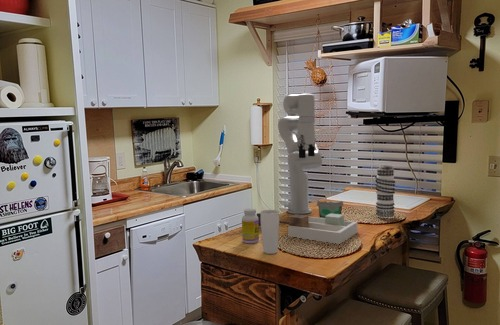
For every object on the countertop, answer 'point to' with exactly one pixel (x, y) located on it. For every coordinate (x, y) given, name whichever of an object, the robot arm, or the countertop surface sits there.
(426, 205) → the countertop surface
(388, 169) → the decorative candle
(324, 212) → the food container
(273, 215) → the drinking glass
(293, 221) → the brown block with stick
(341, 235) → the white tray
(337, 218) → the sage block
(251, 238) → the supplement bottle
